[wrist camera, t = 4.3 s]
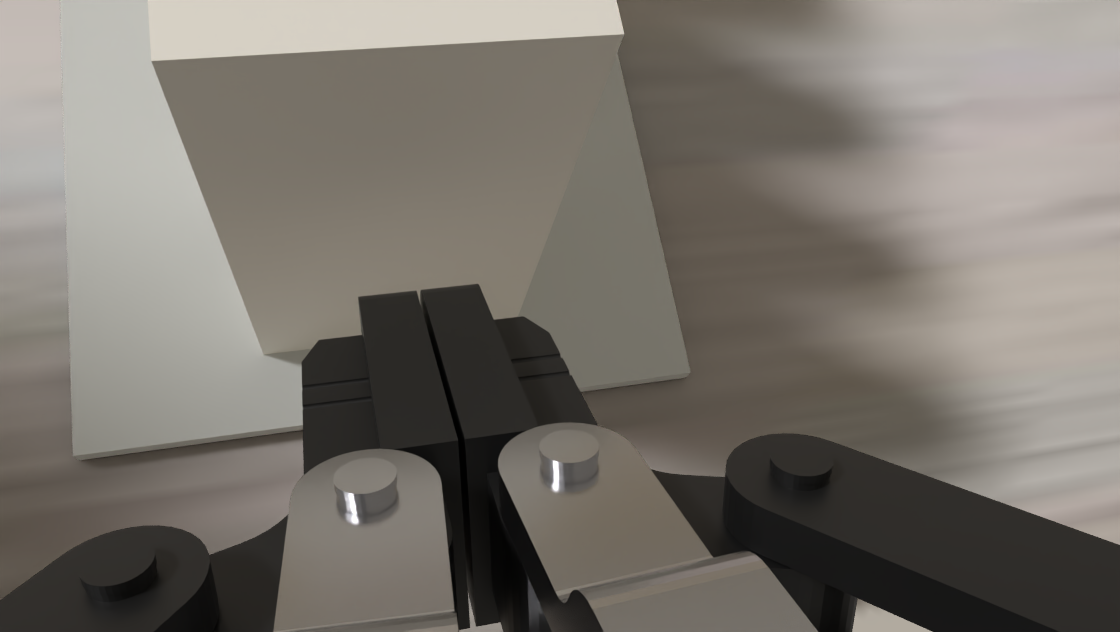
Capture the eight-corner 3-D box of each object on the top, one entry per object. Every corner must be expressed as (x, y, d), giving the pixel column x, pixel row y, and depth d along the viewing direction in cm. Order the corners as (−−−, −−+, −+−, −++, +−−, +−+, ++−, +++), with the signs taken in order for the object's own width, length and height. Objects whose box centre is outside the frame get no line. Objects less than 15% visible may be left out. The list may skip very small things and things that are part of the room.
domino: (263, 354, 19) (151, 60, 10) (255, 260, 20) (141, -99, 11) (514, 324, 20) (624, 34, 11) (499, 236, 21) (590, -110, 12)
